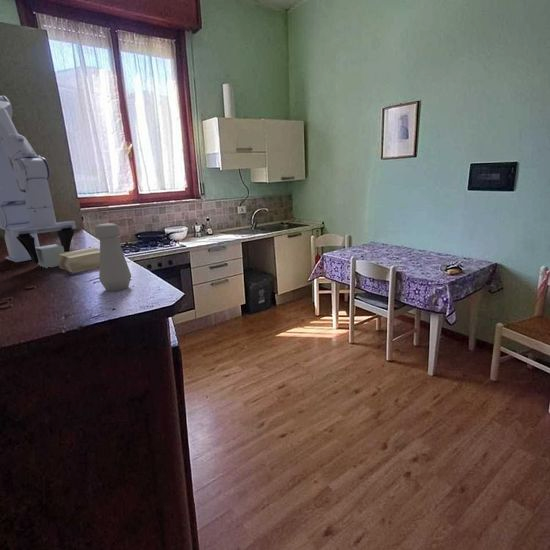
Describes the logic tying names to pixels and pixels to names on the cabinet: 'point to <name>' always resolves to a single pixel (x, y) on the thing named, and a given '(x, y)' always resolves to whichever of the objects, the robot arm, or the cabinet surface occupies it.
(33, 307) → the cabinet surface
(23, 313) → the cabinet surface
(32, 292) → the cabinet surface
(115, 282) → the salt shaker
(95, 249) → the birch block
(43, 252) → the blue-grey cube
